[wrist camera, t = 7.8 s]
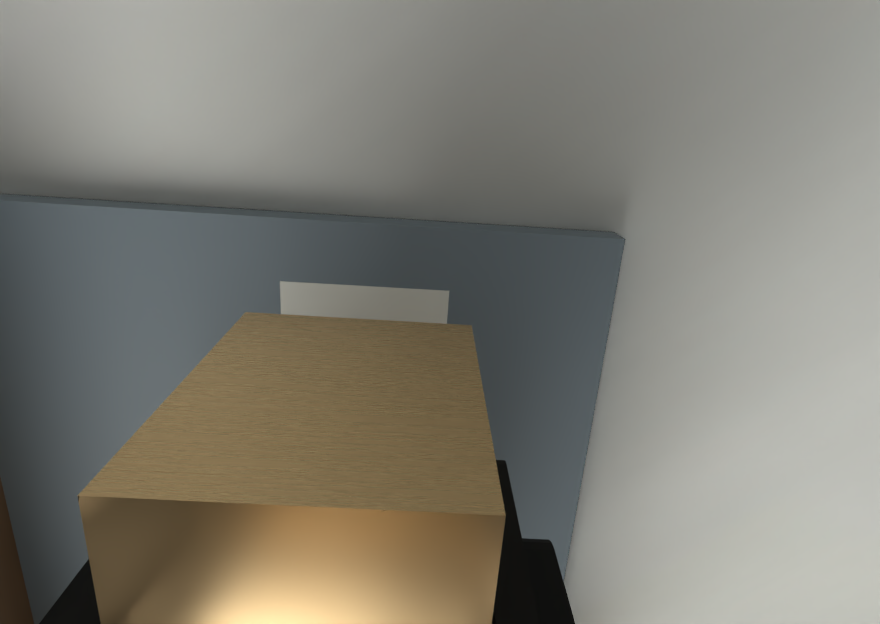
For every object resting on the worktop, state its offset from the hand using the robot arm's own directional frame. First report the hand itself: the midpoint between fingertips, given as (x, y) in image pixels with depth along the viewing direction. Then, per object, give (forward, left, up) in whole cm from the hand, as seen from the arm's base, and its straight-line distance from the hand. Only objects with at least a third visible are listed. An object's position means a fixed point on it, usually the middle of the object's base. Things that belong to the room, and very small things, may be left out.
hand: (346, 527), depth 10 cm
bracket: (-2, -2, -1) cm, 3 cm away
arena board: (-3, -4, -6) cm, 7 cm away
